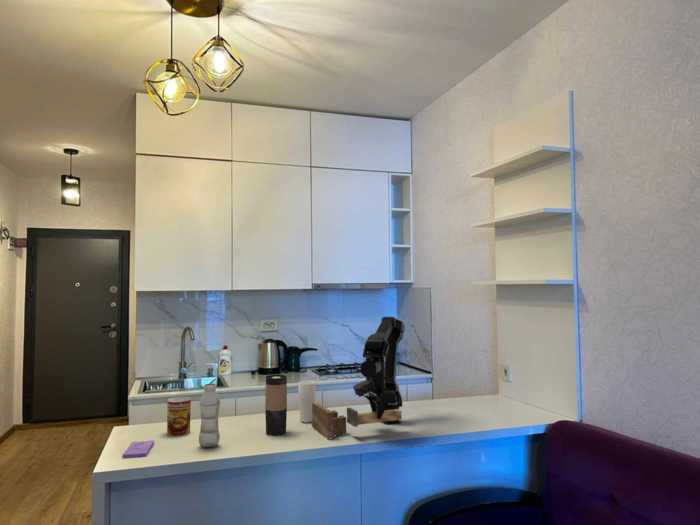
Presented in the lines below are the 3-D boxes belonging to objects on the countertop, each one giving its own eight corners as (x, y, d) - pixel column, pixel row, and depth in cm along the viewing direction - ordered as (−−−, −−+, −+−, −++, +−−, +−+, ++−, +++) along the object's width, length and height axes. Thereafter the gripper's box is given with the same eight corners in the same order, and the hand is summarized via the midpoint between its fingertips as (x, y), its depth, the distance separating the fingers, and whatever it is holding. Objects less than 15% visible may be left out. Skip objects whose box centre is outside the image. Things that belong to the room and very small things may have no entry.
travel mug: (290, 430, 180) (290, 375, 181) (280, 436, 172) (280, 378, 173) (271, 428, 182) (271, 374, 183) (261, 434, 175) (261, 377, 176)
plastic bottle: (200, 443, 165) (201, 383, 166) (221, 443, 166) (222, 382, 167) (196, 449, 159) (197, 386, 160) (218, 449, 159) (218, 386, 160)
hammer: (395, 416, 181) (395, 402, 181) (404, 420, 175) (403, 406, 175) (346, 422, 173) (346, 407, 174) (354, 426, 168) (354, 411, 168)
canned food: (166, 437, 173) (166, 402, 173) (168, 431, 180) (168, 397, 181) (189, 435, 175) (190, 400, 175) (190, 429, 182) (191, 396, 183)
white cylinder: (313, 424, 188) (313, 384, 189) (296, 423, 190) (296, 383, 191) (317, 419, 195) (317, 381, 196) (301, 418, 196) (301, 380, 197)
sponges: (154, 445, 165) (154, 440, 165) (146, 458, 152) (146, 452, 152) (131, 447, 163) (131, 441, 163) (122, 460, 151) (122, 454, 151)
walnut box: (332, 425, 187) (332, 400, 187) (349, 436, 172) (348, 410, 173) (312, 427, 184) (312, 402, 184) (327, 439, 169) (327, 412, 170)
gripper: (345, 370, 181) (345, 413, 180) (367, 379, 164) (367, 427, 163) (373, 368, 185) (373, 410, 184) (397, 376, 168) (397, 423, 167)
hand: (377, 417), depth 175 cm, fingers closed on hammer, 3 cm apart
